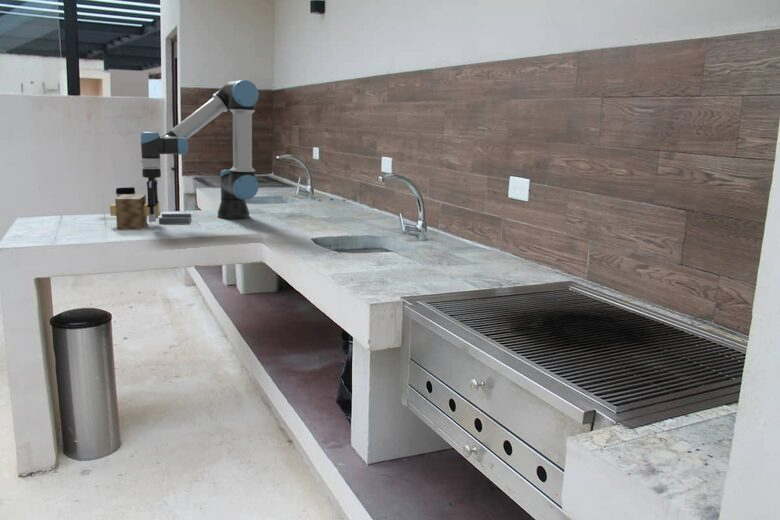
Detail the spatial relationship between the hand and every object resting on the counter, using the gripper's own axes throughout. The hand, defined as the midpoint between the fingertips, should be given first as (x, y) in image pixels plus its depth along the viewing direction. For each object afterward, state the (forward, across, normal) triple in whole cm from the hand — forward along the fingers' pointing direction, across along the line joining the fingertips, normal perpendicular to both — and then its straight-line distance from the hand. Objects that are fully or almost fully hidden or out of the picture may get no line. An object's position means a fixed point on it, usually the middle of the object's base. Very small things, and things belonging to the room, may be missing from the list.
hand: (153, 219), depth 287 cm
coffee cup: (+3, -18, -14) cm, 23 cm away
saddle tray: (+3, -12, +8) cm, 15 cm away
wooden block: (+3, 0, -9) cm, 9 cm away
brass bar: (-2, 0, -7) cm, 8 cm away
